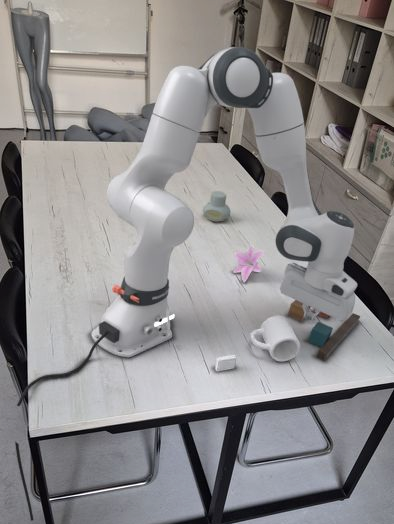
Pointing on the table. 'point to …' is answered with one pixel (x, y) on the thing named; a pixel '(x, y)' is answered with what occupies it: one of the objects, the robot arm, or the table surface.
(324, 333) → the teal block
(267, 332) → the mug
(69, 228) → the table surface
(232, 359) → the eraser
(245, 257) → the lily
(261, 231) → the table surface
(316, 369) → the table surface
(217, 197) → the air freshener
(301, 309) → the oak block
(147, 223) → the robot arm
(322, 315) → the terracotta block
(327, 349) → the straightedge
